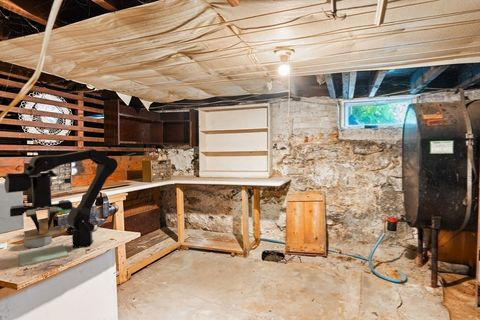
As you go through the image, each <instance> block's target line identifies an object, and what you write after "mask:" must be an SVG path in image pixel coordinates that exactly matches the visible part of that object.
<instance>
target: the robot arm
mask: <svg viewBox="0 0 480 320" xmlns="http://www.w3.org/2000/svg"><path fill="white" fill-rule="evenodd" d="M85 160H91V162H93V164H96V169H95V170H96V172H95V176H94V178H93V180H91V183H90V184H89V186H88V188H87V189H86V190H87V191H86V193H85V194H84V196H83V198H82V200H81V201H80V203H79V205H78V206H77V207H75V208H73V207H74V206H73V202H72V201H70V199H65V200H64V199H63V200H64V201H61V200H59V201H58V203H52V184H51V183H52V182H51V181H52V179H51V178H55V177H57V176H58V174H56V173H55V172H54V171H53V169H56V168H58V167H60V166H62V165H66V164H67V165H68V164H71V163H76V162H80V161H85ZM118 167H119V163H118V161H117V159H116V158H113V157H109V156H107V155H106V154H103V153H102V152H100V151H98V150H97V149H94V148H88V149H85V150H80V151H74V152H68V153H62V154H59V155H36V156H33V157H32V158H30V160H29V165H28V166H27V167H26V168H25V169H24V171H23V172H19V173H18V172H17V173H16V172H15V173H13V172H8V173H7V172H6V173H5V175H6V176H5V181H4V182H3V183H4V189H5V193H6V194H10V193H19V192H21V193H22V192H27V191H29V189H31V190H32V191H31V192H32V193H31V194H27V195H26V204H28V205H29V204H31V205H32V206H24V204H21V205H12V206H10V208H9V217H19V216H23V215H24V214H25V217H26V218H30V219H31V220H32V222H33V223H34V226H35V228H36V230H38V231H39V224H38V221H39V220H38V215H37V211H45V210H46V211H47V222H48V230H49V228H50V225H51V222H52V220H53V218H54V216H55V214H56V213H59V211H58V209H59V208H61V209H63V210H68V209H71V211H70V213H69V215H67V217H68V219H67V223H68V225H69V226H71V227H72V228H73V230H72V231H73V234H72V239H71V240H72V241H71V242H72V248H73V249H74V248H86V247H91V245H92V244H93V243H94V239H93V231H94V229H95V228H96V226H95V225H94V224H93V223H92V222H90V220H91V219H90V218H91V215H92V214H91V213H92V207H93V206H94V204H95V202H96V200H97V198H98V197H99V194H100V193H101V190H102V189H103V187H104V185H105V182H106V181H107V179H108V178H109V177H110V176H112V174H114V172H115V171H116V170H117V169H118ZM72 206H73V207H72ZM48 209H49V210H48Z"/></svg>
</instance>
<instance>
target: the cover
mask: <svg viewBox="0 0 480 320" xmlns="http://www.w3.org/2000/svg"><path fill="white" fill-rule="evenodd" d="M47 221H48V219H42V220H38V224H39V231H38V230H37V229H30V230H24V232H23V233H24V234H25V240H26V241H27V240H33V239H38V238H44V237H50V236H52V237H54V236H60V235H63V234H64V232H62V231H61V229H60V227H59V226H55V227H50V228H49V230H48V222H47ZM24 234H23V235H24Z"/></svg>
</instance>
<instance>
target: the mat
mask: <svg viewBox="0 0 480 320" xmlns="http://www.w3.org/2000/svg"><path fill="white" fill-rule="evenodd" d="M66 257H69V253H68V252H67V250H66V248H65V246H64V244H62V243H61V244H58V245H53V246H47V247H42V248H37V249H32V250H26V251H22V252H19V264H20V267H21V268H22V267H25V266H29V265H30V266H31V265H34V264H39V263H44V262H49V261H53V260H58V259H62V258H66Z"/></svg>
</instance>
